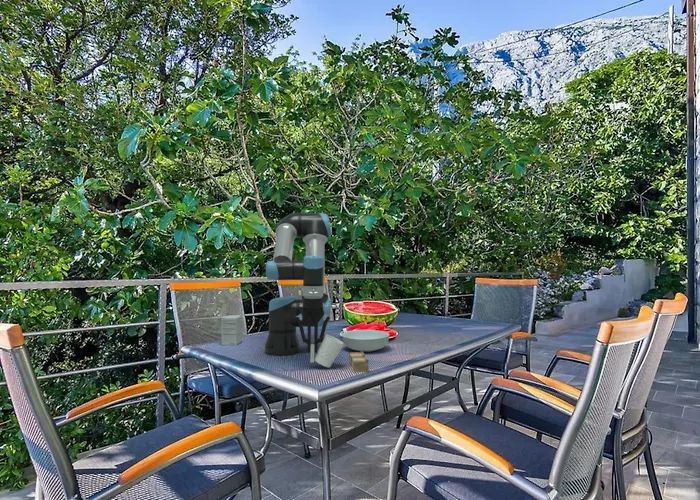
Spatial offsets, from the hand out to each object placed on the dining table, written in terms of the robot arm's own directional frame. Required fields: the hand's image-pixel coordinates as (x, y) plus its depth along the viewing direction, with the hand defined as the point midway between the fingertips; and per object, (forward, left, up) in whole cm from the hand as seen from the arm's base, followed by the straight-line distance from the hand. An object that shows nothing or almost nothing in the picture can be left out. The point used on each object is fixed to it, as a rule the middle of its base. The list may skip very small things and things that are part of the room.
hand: (312, 361), depth 158 cm
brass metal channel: (0, +17, -2) cm, 17 cm away
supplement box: (-45, -36, -3) cm, 58 cm away
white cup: (0, +4, -1) cm, 4 cm away
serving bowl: (-27, +24, -3) cm, 37 cm away
